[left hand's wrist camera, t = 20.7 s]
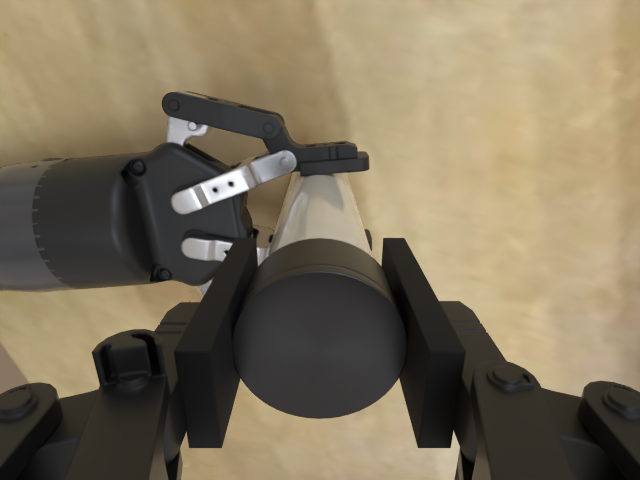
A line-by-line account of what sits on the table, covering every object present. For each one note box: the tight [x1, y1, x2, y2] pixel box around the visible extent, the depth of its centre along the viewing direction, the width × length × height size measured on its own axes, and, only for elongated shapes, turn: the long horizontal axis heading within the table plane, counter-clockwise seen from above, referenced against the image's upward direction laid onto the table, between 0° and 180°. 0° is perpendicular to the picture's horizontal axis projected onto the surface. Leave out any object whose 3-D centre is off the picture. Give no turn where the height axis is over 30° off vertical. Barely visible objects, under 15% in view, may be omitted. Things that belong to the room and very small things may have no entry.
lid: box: [232, 238, 408, 419], centre depth 11 cm, size 5×5×2 cm
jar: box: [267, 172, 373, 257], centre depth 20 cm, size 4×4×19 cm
